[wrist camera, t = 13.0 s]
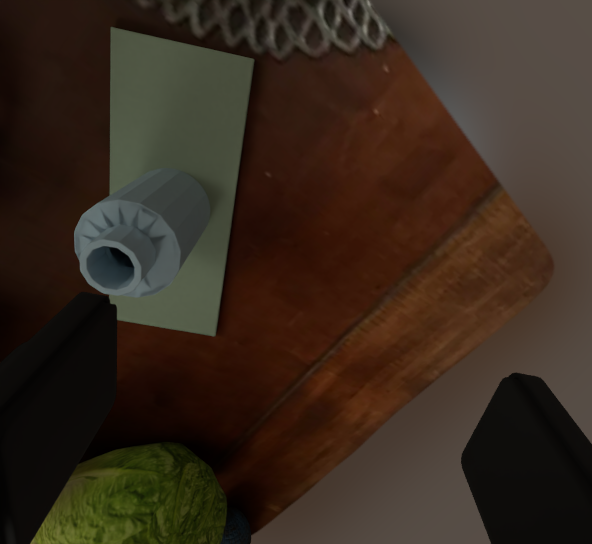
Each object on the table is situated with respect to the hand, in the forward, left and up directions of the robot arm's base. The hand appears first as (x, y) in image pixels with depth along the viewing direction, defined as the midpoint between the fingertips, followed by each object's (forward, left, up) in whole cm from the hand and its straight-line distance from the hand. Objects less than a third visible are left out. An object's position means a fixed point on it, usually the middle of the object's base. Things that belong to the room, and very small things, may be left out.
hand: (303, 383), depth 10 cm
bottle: (+5, -10, -25) cm, 27 cm away
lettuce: (+44, -10, -19) cm, 49 cm away
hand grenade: (+40, 0, -23) cm, 46 cm away
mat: (+5, -10, -25) cm, 28 cm away
